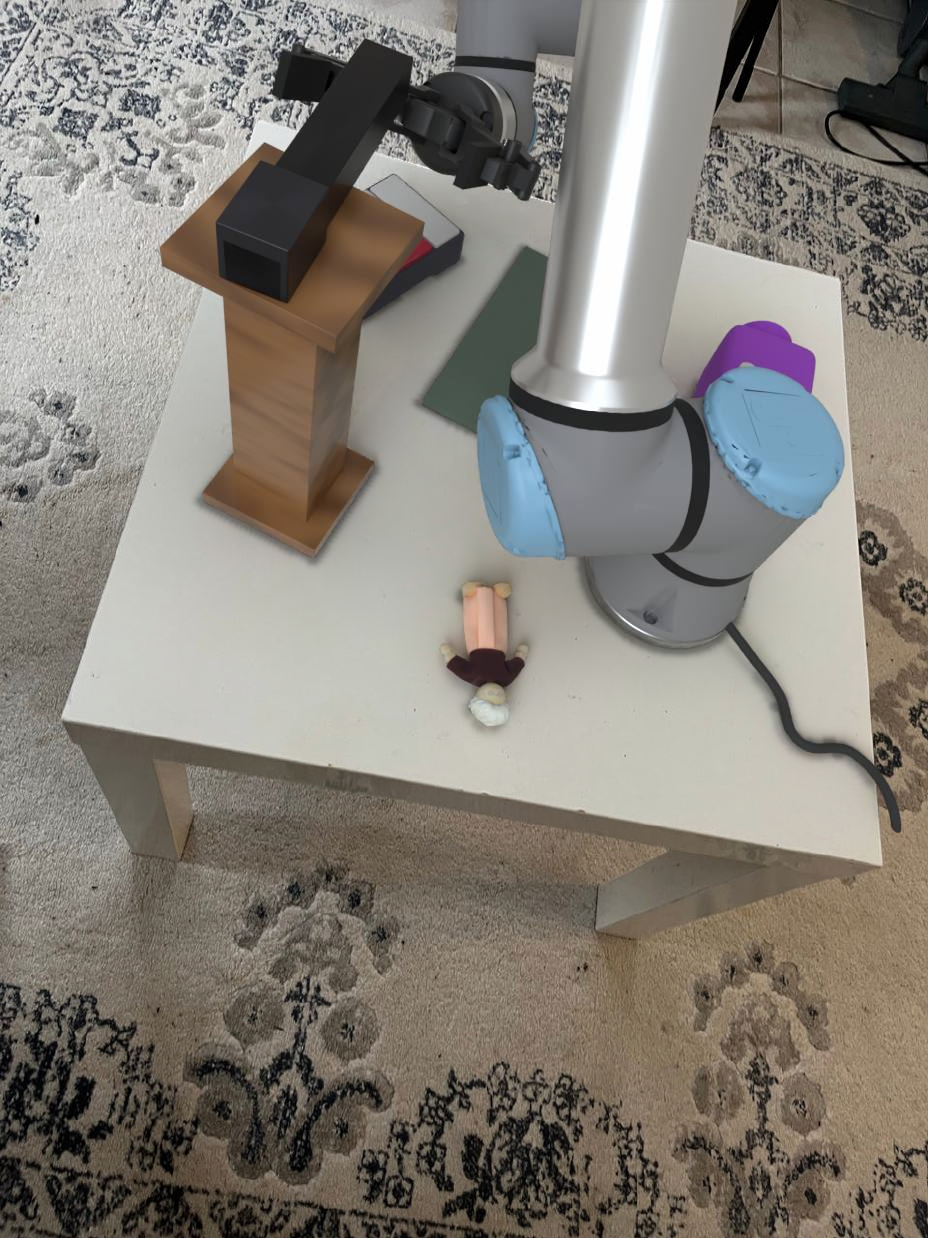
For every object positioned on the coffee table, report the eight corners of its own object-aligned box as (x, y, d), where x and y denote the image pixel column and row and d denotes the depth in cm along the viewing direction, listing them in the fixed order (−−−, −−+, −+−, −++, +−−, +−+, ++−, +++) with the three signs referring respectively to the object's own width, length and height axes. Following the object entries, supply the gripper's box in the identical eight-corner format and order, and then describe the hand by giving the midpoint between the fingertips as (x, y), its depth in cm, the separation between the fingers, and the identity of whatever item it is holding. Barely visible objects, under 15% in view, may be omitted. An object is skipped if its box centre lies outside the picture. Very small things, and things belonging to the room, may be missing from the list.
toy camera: (774, 375, 98) (823, 308, 90) (781, 476, 92) (834, 415, 83) (681, 354, 97) (722, 284, 88) (682, 455, 91) (726, 391, 82)
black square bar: (355, 77, 64) (360, 19, 60) (413, 100, 64) (421, 44, 60) (218, 276, 53) (214, 221, 50) (287, 304, 53) (288, 251, 50)
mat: (524, 249, 100) (525, 245, 99) (612, 293, 99) (614, 289, 99) (421, 404, 87) (422, 400, 87) (521, 455, 87) (522, 452, 87)
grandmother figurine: (525, 576, 77) (541, 713, 71) (521, 598, 80) (536, 731, 74) (436, 579, 76) (444, 718, 70) (435, 601, 80) (443, 736, 74)
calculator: (286, 227, 89) (394, 165, 95) (287, 260, 93) (391, 198, 99) (362, 295, 87) (468, 227, 93) (359, 326, 91) (461, 259, 97)
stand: (267, 411, 84) (264, 140, 59) (380, 469, 83) (425, 221, 59) (194, 503, 78) (158, 246, 53) (316, 566, 78) (336, 336, 53)
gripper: (572, 233, 78) (519, 260, 60) (320, 107, 79) (193, 97, 61) (612, 143, 74) (568, 144, 56) (346, 12, 75) (218, -29, 57)
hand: (372, 119), depth 58 cm, fingers open, 13 cm apart
